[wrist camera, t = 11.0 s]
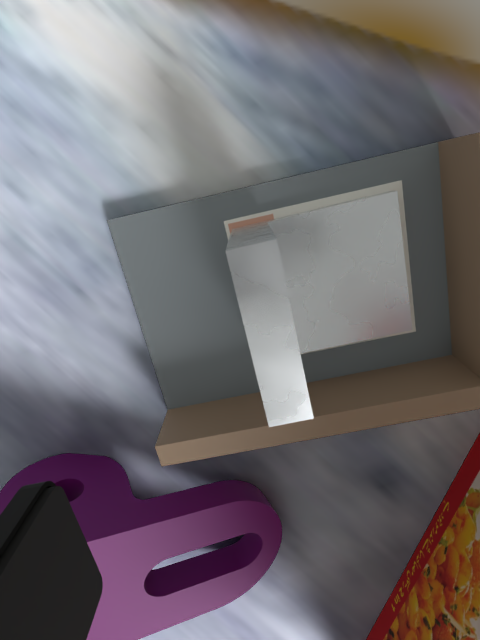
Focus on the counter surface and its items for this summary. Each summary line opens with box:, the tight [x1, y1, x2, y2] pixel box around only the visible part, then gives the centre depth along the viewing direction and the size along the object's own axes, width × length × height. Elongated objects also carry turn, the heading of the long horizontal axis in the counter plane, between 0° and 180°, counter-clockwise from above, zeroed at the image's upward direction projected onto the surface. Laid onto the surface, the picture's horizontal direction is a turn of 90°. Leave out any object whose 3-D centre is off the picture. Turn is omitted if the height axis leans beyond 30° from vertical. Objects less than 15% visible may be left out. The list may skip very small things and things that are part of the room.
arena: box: [107, 133, 480, 466], centre depth 23 cm, size 20×14×5 cm
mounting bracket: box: [0, 453, 282, 640], centre depth 29 cm, size 9×8×18 cm
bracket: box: [225, 191, 412, 427], centre depth 20 cm, size 9×8×8 cm
